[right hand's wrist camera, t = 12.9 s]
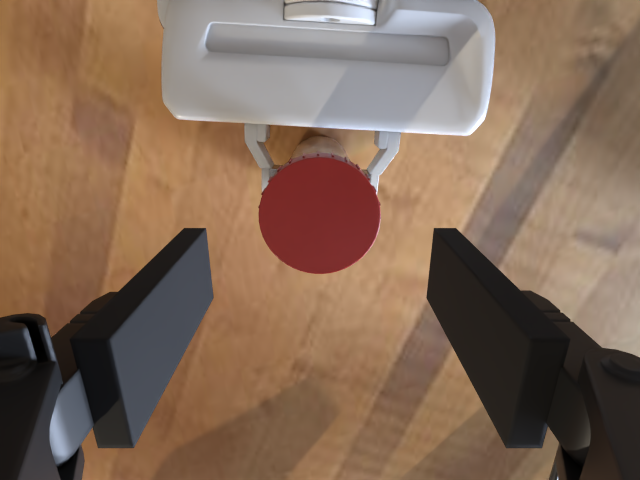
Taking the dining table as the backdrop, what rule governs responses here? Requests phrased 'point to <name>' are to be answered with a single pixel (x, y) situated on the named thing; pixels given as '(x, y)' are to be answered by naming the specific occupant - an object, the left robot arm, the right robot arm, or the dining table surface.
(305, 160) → the lid
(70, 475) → the right robot arm
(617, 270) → the dining table surface
